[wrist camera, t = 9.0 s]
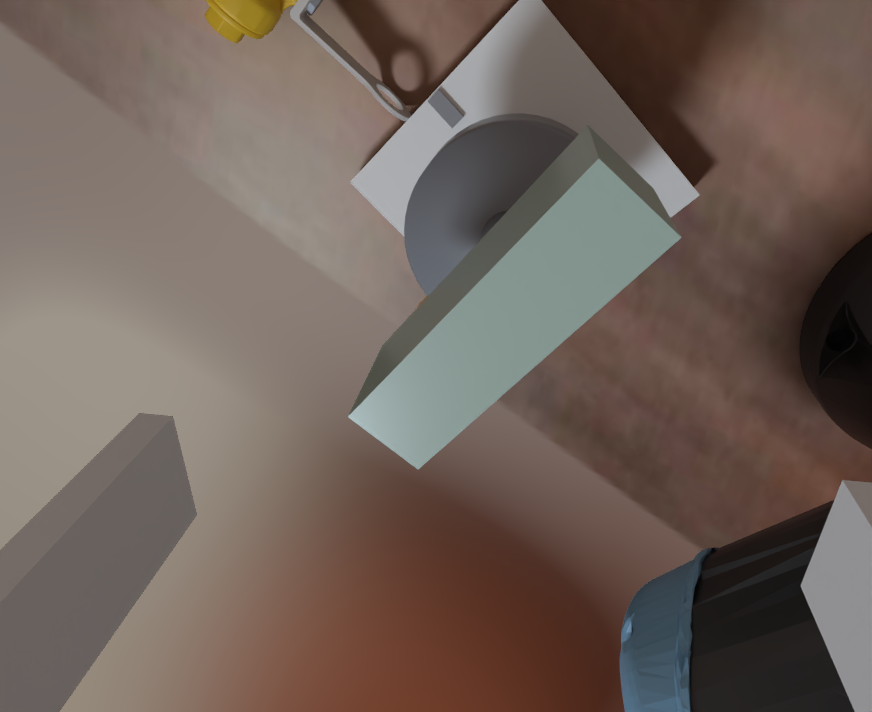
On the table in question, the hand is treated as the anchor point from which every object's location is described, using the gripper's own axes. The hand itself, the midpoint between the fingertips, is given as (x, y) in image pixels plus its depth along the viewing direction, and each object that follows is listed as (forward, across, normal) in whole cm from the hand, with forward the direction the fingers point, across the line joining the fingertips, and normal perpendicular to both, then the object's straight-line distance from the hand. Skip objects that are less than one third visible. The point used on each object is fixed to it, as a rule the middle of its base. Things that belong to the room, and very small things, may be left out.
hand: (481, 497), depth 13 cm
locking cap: (+19, 0, 0) cm, 19 cm away
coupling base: (+25, 0, 0) cm, 25 cm away
